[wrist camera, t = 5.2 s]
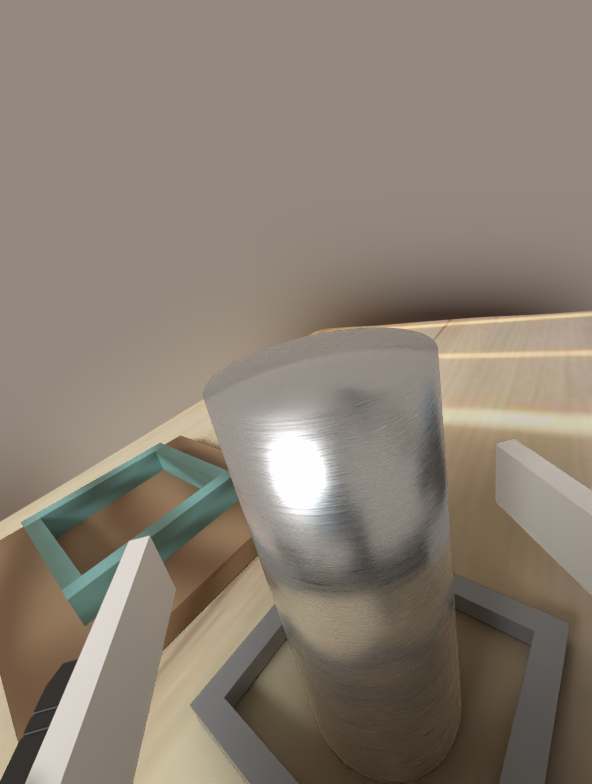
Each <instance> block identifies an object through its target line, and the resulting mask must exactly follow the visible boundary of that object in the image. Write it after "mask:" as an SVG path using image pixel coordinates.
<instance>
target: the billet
mask: <svg viewBox="0 0 592 784" xmlns="http://www.w3.org/2000/svg"><path fill="white" fill-rule="evenodd" d="M203 398H204V401H205V404H206V407H207V410H208V413H209V415H210V418H211V421H212V424H213V427H214V430H215V433H216V436H217V438H218V441H219V444H220V447H221V450H222V453H223V456H224V459H225V461H226V464H227V467H228V470H229V473H230V476H231V479H232V482H233V484H234V487H235V490H236V493H237V496H238V499H239V502H240V504H241V507H242V510H243V513H244V516H245V519H246V522H247V525H248V527H249V530H250V533H251V536H252V539H253V542H254V545H255V548H256V550H257V553H258V556H259V559H260V562H261V565H262V568H263V570H264V573H265V576H266V579H267V582H268V585H269V588H270V591H271V593H272V596H273V599H274V602H275V605H276V608H277V611H278V614H279V616H280V619H281V622H282V625H283V628H284V631H285V634H286V637H287V639H288V642H289V645H290V648H291V651H292V654H293V657H294V659H295V662H296V665H297V668H298V671H299V674H300V677H301V680H302V682H303V685H304V688H305V691H306V694H307V697H308V700H309V703H310V705H311V708H312V711H313V714H314V717H315V720H316V722H317V725H318V727H319V730H320V732H321V733H322V735H323V737H324V739H325V741H326V742H327V744H328V745H329V747H330V748H331V749H332V751H333V752H334V753H335V754H336V755H337V756H338V757H339V759H340V760H341V761H343V762H344V763H345V764H346V765H347V766H348V767H350V768H351V769H353V770H354V771H356V772H357V773H359V774H361V775H363V776H365V777H367V778H370V779H372V780H376V781H380V782H384V783H404V782H409V781H413V780H416V779H419V778H421V777H423V776H425V775H427V774H428V773H430V772H431V771H433V770H434V769H435V768H436V767H437V766H439V765H440V763H441V762H442V761H443V760H444V759H445V758H446V756H447V755H448V753H449V752H450V750H451V748H452V747H453V744H454V742H455V740H456V737H457V734H458V730H459V726H460V722H461V713H462V701H461V684H460V670H459V655H458V640H457V625H456V610H455V595H454V580H453V565H452V550H451V535H450V520H449V505H448V491H447V476H446V461H445V446H444V431H443V416H442V401H441V386H440V371H439V356H438V347H437V344H436V343H435V342H434V340H433V339H431V338H430V337H428V336H426V335H424V334H422V333H419V332H415V331H411V330H405V329H397V328H358V329H348V330H339V331H333V332H326V333H321V334H316V335H311V336H306V337H302V338H298V339H294V340H291V341H287V342H283V343H280V344H277V345H274V346H271V347H268V348H265V349H263V350H260V351H257V352H255V353H252V354H250V355H248V356H246V357H243V358H242V359H240V360H238V361H236V362H234V363H232V364H230V365H229V366H227V367H226V368H224V369H222V370H221V371H219V372H218V373H217V374H216V375H215V376H213V377H212V378H211V379H210V380H209V382H208V383H207V385H206V386H205V388H204V391H203Z"/></svg>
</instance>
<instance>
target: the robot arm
mask: <svg viewBox="0 0 592 784" xmlns="http://www.w3.org/2000/svg"><path fill="white" fill-rule="evenodd" d="M495 502H496V503H497V504H498V505H499V506H500V507H501V508H502V509H503V510H504V511H505V512H506V513H507V514H508V515H509V516H510V517H511V518H512V519H513V520H514V521H515V522H516V523H518V524H519V525H520V526H521V527H522V528H523V529H524V530H525V531H526V532H527V533H528V534H529V535H530V536H531V537H532V538H533V539H534V540H535V541H536V542H537V543H538V544H539V545H540V546H541V547H542V548H543V549H544V550H545V551H546V552H547V553H548V554H549V555H550V556H551V557H552V558H553V559H554V560H555V561H556V562H557V563H558V564H559V565H560V566H561V567H562V568H563V569H564V570H566V571H567V572H568V573H569V574H570V575H571V576H572V577H573V578H574V579H575V580H576V581H577V582H578V583H579V584H580V585H581V586H582V587H583V588H584V589H585V590H586V591H587V592H588V593H589V594H590V595H591V596H592V490H590V489H589V488H587V487H586V486H584V485H583V484H581V483H580V482H578V481H577V480H575V479H574V478H572V477H571V476H569V475H568V474H566V473H565V472H563V471H562V470H560V469H559V468H557V467H556V466H554V465H553V464H551V463H550V462H548V461H547V460H546V459H544V458H543V457H541V456H540V455H538V454H537V453H535V452H534V451H532V450H531V449H529V448H528V447H526V446H525V445H523V444H522V443H520V442H519V441H517V440H516V439H511V440H508V441H504V442H500V443H496V444H495ZM175 591H176V588H175V586H174V584H173V582H172V580H171V577H170V575H169V573H168V571H167V569H166V567H165V565H164V563H163V561H162V559H161V557H160V555H159V553H158V551H157V549H156V547H155V545H154V543H153V541H152V539H151V537H150V536H146V537H142V538H139V539H135V540H131V541H129V542H128V544H127V547H126V549H125V551H124V554H123V556H122V558H121V561H120V563H119V565H118V568H117V570H116V572H115V575H114V577H113V579H112V582H111V584H110V586H109V589H108V591H107V593H106V596H105V598H104V600H103V603H102V605H101V607H100V610H99V612H98V614H97V617H96V619H95V621H94V624H93V626H92V628H91V631H90V633H89V635H88V638H87V640H86V642H85V645H84V647H83V649H82V652H81V654H80V656H79V659H77V660H73V661H69V662H66V663H63V664H62V665H61V667H60V668H59V669H58V671H57V672H56V673H55V675H54V676H53V677H52V679H51V680H50V681H49V683H48V684H47V685H46V687H45V689H44V691H43V693H42V695H41V697H40V699H39V701H38V703H37V705H36V707H35V710H34V715H33V716H32V717H31V718H30V720H29V722H28V724H27V726H26V728H25V731H24V736H23V738H21V739H20V741H19V743H18V745H17V747H16V749H15V751H14V754H13V756H12V758H11V760H10V762H9V764H8V766H7V768H6V770H5V772H4V774H3V777H2V779H1V781H0V784H133V780H134V776H135V771H136V767H137V762H138V758H139V753H140V749H141V744H142V740H143V735H144V731H145V726H146V722H147V717H148V713H149V708H150V704H151V699H152V695H153V690H154V686H155V681H156V677H157V672H158V668H159V663H160V659H161V654H162V650H163V645H164V641H165V636H166V632H167V627H168V623H169V618H170V614H171V609H172V605H173V600H174V596H175Z"/></svg>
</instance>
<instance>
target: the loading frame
mask: <svg viewBox="0 0 592 784" xmlns="http://www.w3.org/2000/svg"><path fill="white" fill-rule="evenodd" d="M453 580H454V595H455V608H456V609H458V610H460V611H462V612H464V613H466V614H468V615H470V616H472V617H474V618H476V619H478V620H480V621H482V622H484V623H486V624H488V625H490V626H492V627H494V628H496V629H498V630H501V631H503V632H505V633H507V634H509V635H511V636H513V637H515V638H517V639H519V640H521V641H523V642H525V643H527V644H529V645H531V648H530V652H529V657H528V661H527V665H526V670H525V674H524V678H523V682H522V687H521V691H520V695H519V699H518V704H517V708H516V712H515V717H514V721H513V725H512V729H511V734H510V738H509V742H508V747H507V751H506V755H505V759H504V764H503V768H502V772H501V776H500V781H499V784H545V780H546V773H547V767H548V761H549V754H550V748H551V742H552V736H553V729H554V723H555V717H556V710H557V704H558V698H559V692H560V685H561V679H562V673H563V666H564V660H565V654H566V648H567V641H568V633H569V625H570V623H568V622H565V621H563V620H561V619H558V618H556V617H554V616H551V615H549V614H547V613H544V612H542V611H540V610H537V609H535V608H533V607H531V606H528V605H526V604H524V603H521V602H519V601H517V600H514V599H512V598H510V597H507V596H505V595H503V594H500V593H498V592H496V591H493V590H491V589H489V588H486V587H484V586H482V585H479V584H477V583H475V582H472V581H470V580H468V579H466V578H463V577H461V576H459V575H456V574H454V573H453ZM286 638H287V637H286V634H285V631H284V628H283V625H282V622H281V619H280V616H279V614H278V611H277V608H276V605H274V606H273V607H272V608H271V609H270V611H269V612H268V613H267V614H266V615H265V616H264V618H263V619H262V620H261V621H260V622H259V624H258V625H257V626H256V627H255V628H254V630H253V631H252V632H251V633H250V634H249V635H248V637H247V638H246V639H245V640H244V641H243V643H242V644H241V645H240V646H239V647H238V649H237V650H236V651H235V652H234V653H233V654H232V656H231V657H230V658H229V659H228V660H227V662H226V663H225V664H224V665H223V666H222V668H221V669H220V670H219V671H218V672H217V673H216V675H215V676H214V677H213V678H212V679H211V681H210V682H209V683H208V684H207V685H206V687H205V688H204V689H203V690H202V691H201V692H200V694H199V695H198V696H197V697H196V698H195V700H194V701H193V702H192V703H191V704H190V706H191V707H192V709H193V711H194V713H195V714H196V716H197V718H198V719H199V721H200V722H201V723H202V725H203V726H204V727H205V729H206V730H207V731H208V733H209V734H210V735H211V737H212V738H213V739H214V741H215V742H216V743H217V745H218V746H219V747H220V749H221V750H222V751H223V753H224V754H225V755H226V757H227V758H228V759H229V761H230V762H231V763H232V765H233V766H234V767H235V769H236V770H237V771H238V772H239V774H240V775H241V776H242V778H243V779H244V780H245V782H246V783H247V784H299V783H298V782H297V781H296V780H295V779H294V777H293V776H292V775H291V774H290V773H289V772H288V771H287V769H286V768H285V767H284V766H283V765H282V764H281V762H280V761H279V760H278V759H277V758H276V757H275V756H274V754H273V753H272V752H271V751H270V750H269V749H268V748H267V746H266V745H265V744H264V743H263V742H262V741H261V740H260V738H259V737H258V736H257V735H256V734H255V733H254V732H253V730H252V729H251V728H250V727H249V726H248V725H247V723H246V722H245V721H244V720H243V719H242V718H241V717H240V715H239V714H238V713H237V712H236V711H235V710H234V709H233V708H234V707H235V706H236V704H237V703H238V702H239V700H240V699H241V698H242V696H243V695H244V694H245V692H246V691H247V690H248V688H249V687H250V686H251V684H252V683H253V682H254V680H255V679H256V678H257V677H258V675H259V674H260V673H261V671H262V670H263V669H264V667H265V666H266V665H267V663H268V662H269V661H270V659H271V658H272V657H273V655H274V654H275V653H276V651H277V650H278V649H279V647H280V646H281V645H282V643H283V642H284V641H285V640H286Z"/></svg>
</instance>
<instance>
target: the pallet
mask: <svg viewBox="0 0 592 784" xmlns="http://www.w3.org/2000/svg"><path fill="white" fill-rule="evenodd" d="M21 523H22V525H23V527H22V528H21V529H19V530H17V531H15V532H14V533H12V534H10V535H8V536H7V537H5V538H3V539H2V540H0V676H1V679H2V683H3V687H4V691H5V695H6V698H7V702H8V706H9V710H10V714H11V717H12V721H13V725H14V729H15V733H16V736H17V740H18V743H19V741H20V739H21V738H23V736H24V731H25V728H26V726H27V724H28V722H29V720H30V718H31V717H32V716H33V715H34V710H35V707H36V705H37V703H38V701H39V699H40V697H41V695H42V693H43V691H44V689H45V687H46V685H47V684H48V683H49V681H50V680H51V679H52V677H53V676H54V675H55V673H56V672H57V671H58V669H59V668H60V667H61V665H62V664H63V663H66V662H69V661H73V660H77V659H79V656H80V654H81V652H82V649H83V647H84V645H85V642H86V640H87V638H88V635H89V633H90V631H91V628H92V626H93V624H94V621H95V619H96V617H97V614H98V612H99V610H100V607H101V605H102V603H103V600H104V598H105V596H106V593H107V591H108V589H109V586H110V584H111V582H112V579H113V577H114V575H115V572H116V570H117V568H118V565H119V563H120V561H121V558H122V556H123V554H124V551H125V549H126V547H127V544H128V542H129V541H131V540H135V539H139V538H142V537H146V536H150V537H151V539H152V541H153V543H154V545H155V547H156V549H157V551H158V553H159V555H160V557H161V559H162V561H163V563H164V565H165V567H166V569H167V571H168V573H169V575H170V577H171V580H172V582H173V584H174V586H175V588H176V591H175V596H174V600H173V605H172V609H171V614H170V618H169V623H168V627H167V632H166V636H165V641H164V645H163V649H164V648H165V647H166V646H167V645H168V644H169V643H170V642H171V641H172V640H173V639H174V638H175V637H176V636H177V635H178V634H179V633H180V632H181V631H182V630H183V629H184V628H185V627H186V626H187V625H188V624H189V623H190V622H191V621H192V620H193V619H194V618H195V617H196V616H197V615H198V614H199V613H200V612H201V611H202V610H203V609H204V608H205V607H206V606H207V605H208V604H209V603H210V602H211V601H212V600H213V599H214V598H215V597H216V596H217V595H218V594H219V593H220V592H221V591H222V590H223V589H224V588H225V587H226V586H227V585H228V584H229V583H230V582H231V581H232V580H233V579H234V578H235V577H236V576H237V575H238V574H239V573H240V572H241V571H242V570H243V569H244V568H245V567H246V566H247V565H248V564H249V563H250V562H251V561H252V560H253V559H254V558H255V557H256V556H257V555H258V553H257V550H256V548H255V545H254V542H253V539H252V536H251V533H250V530H249V527H248V525H247V522H246V519H245V516H244V513H243V510H242V507H241V504H240V502H239V499H238V496H237V493H236V490H235V487H234V484H233V482H232V479H231V476H230V473H229V470H228V467H227V464H226V461H225V459H224V456H223V453H222V450H220V449H217V448H214V447H211V446H209V445H206V444H203V443H200V442H197V441H194V440H192V439H189V438H186V437H183V436H179V437H177V438H176V439H174V440H172V441H170V442H169V443H167V444H165V445H164V444H162V443H159V444H157V445H155V446H154V447H152V448H150V449H148V450H147V451H145V452H143V453H141V454H140V455H138V456H136V457H134V458H133V459H131V460H129V461H127V462H126V463H124V464H122V465H120V466H119V467H117V468H115V469H113V470H112V471H110V472H108V473H106V474H105V475H103V476H101V477H99V478H98V479H96V480H94V481H92V482H91V483H89V484H87V485H85V486H84V487H82V488H80V489H78V490H77V491H75V492H73V493H71V494H70V495H68V496H66V497H64V498H63V499H61V500H59V501H57V502H56V503H54V504H52V505H50V506H49V507H47V508H45V509H43V510H42V511H40V512H38V513H36V514H35V515H33V516H31V517H29V518H28V519H26V520H24V521H22V522H21Z"/></svg>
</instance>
